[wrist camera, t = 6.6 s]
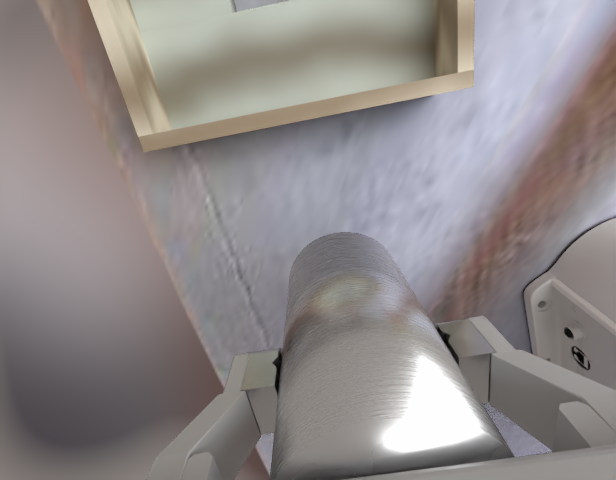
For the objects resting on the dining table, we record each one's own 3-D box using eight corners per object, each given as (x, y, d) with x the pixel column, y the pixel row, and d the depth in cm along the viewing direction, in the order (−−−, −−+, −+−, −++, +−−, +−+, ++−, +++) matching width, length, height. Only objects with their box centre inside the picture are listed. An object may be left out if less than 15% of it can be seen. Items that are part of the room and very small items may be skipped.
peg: (400, 318, 15) (516, 562, 7) (300, 334, 16) (295, 587, 7) (391, 222, 13) (535, 398, 5) (278, 243, 14) (237, 440, 5)
